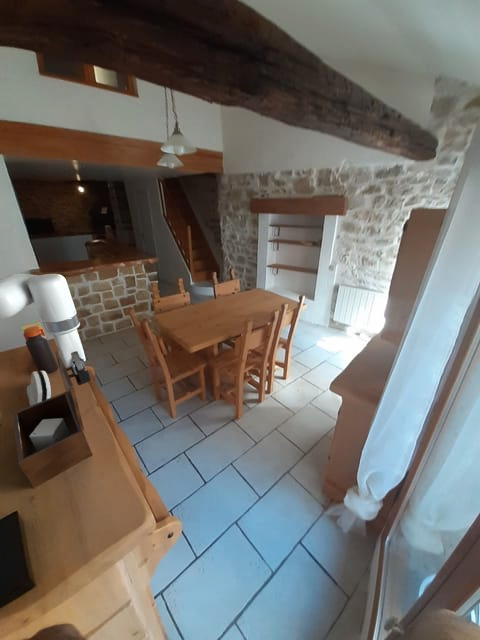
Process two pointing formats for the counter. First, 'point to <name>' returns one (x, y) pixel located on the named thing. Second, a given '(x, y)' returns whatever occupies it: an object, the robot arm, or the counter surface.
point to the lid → (69, 389)
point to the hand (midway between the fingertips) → (81, 376)
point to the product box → (49, 433)
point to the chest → (56, 455)
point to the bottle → (40, 350)
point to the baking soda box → (32, 326)
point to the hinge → (38, 388)
